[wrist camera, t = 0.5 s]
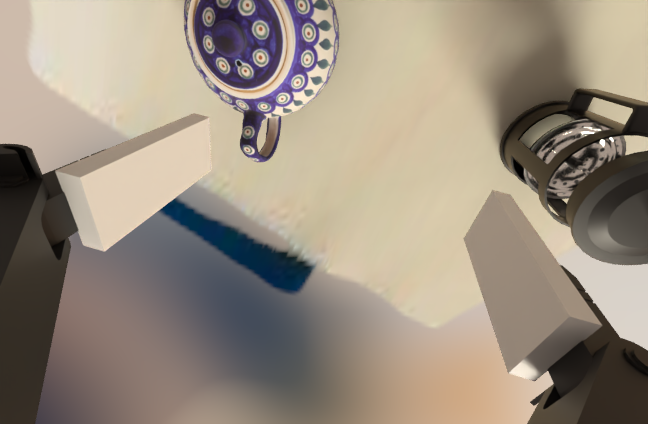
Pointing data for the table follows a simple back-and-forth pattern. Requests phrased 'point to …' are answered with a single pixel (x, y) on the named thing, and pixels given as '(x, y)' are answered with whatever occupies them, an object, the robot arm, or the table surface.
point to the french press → (588, 174)
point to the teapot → (263, 58)
